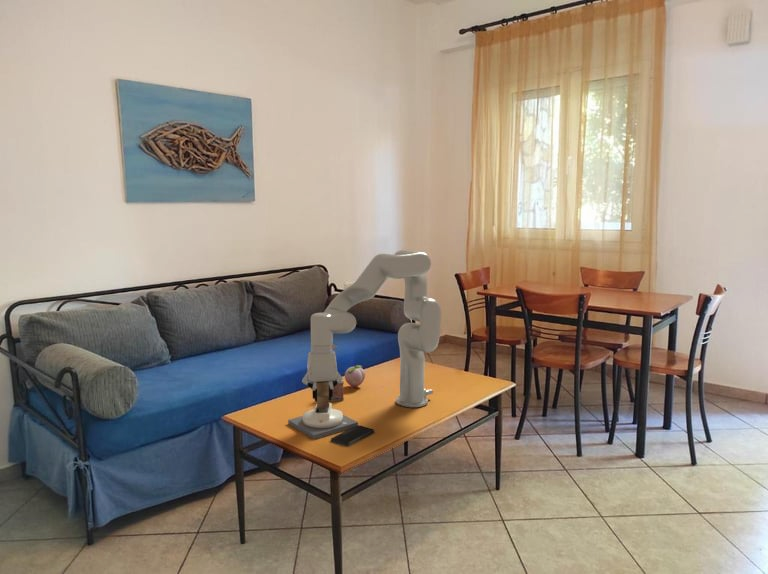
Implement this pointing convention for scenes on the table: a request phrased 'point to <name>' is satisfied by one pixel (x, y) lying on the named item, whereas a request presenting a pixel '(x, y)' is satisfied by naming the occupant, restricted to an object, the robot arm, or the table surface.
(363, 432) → the phone
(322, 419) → the dial
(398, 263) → the robot arm
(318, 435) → the dial plate
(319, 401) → the tan block
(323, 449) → the table surface
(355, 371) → the decorative fruit
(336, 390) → the lighter
